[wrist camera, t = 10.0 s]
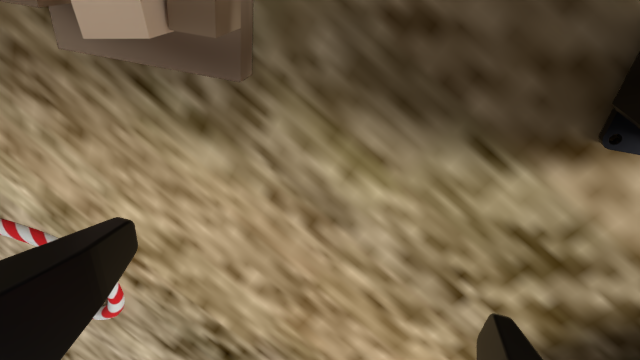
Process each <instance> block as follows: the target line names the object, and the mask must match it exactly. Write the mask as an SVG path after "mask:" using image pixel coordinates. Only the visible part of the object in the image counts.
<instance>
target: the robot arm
mask: <svg viewBox="0 0 640 360" xmlns="http://www.w3.org/2000/svg"><path fill="white" fill-rule="evenodd" d="M613 106H614V109H613V110H612V112H611V114H610V116H609V118H608V119H607V121H606V123H605V125H604V127H603V129H602V130H601V132H600V134H599V142H600V143H601V144H602V145H603V146H604V147H605V148H607V149H610V150H615V151H621V152H626V153H632V154H637V155H640V53H639V54H638V56H637V58H636V60H635V62H634V64H633V65H632V67H631V69H630V71H629V73H628V75H627V77H626V78H625V80H624V82H623V84H622V86H621V88H620V90H619V91H618V93H617V95H616V97H615V99H614V101H613ZM614 134H618V137H617V138H616V139H615V140H613V141H609V138H610V137H611V136H612V135H614ZM137 248H138V242H137V236H136V230H135V225H134V223H133V221H131V220H128V219H124V218H120V217H116V218H113V219H110V220H107V221H104V222H102V223H99V224H96V225H94V226H91V227H88V228H86V229H83V230H80V231H78V232H75V233H72V234H70V235H67V236H64V237H62V238H59V239H56V240H54V241H51V242H48V243H46V244H43V245H40V246H38V247H35V248H32V249H29V250H27V251H24V252H21V253H19V254H16V255H13V256H11V257H8V258H5V259H3V260H0V360H61V358H62V357H63V356H64V355H65V353H66V352H67V351H68V349H69V348H70V347H71V346H72V344H73V343H74V342H75V340H76V339H77V338H78V337H79V335H80V334H81V333H82V331H83V330H84V329H85V327H86V326H87V325H88V324H89V322H90V321H91V320H92V318H93V317H94V316H95V315H96V313H97V312H98V311H99V309H100V308H101V307H102V305H103V304H104V302H105V301H106V300H107V298H108V297H109V295H110V293H111V292H112V290H113V289H114V287H115V285H116V284H117V282H118V281H119V279H120V277H121V276H122V274H123V273H124V271H125V270H126V268H127V266H128V265H129V263H130V262H131V260H132V258H133V257H134V255H135V253H136V251H137ZM477 360H543V359H542V358H541V356H540V355H539V354H538V352H537V351H536V350H535V348H534V347H533V346H532V345H531V343H530V342H529V341H528V339H527V338H526V337H525V335H524V334H523V333H522V331H521V330H520V329H519V328H518V326H517V325H516V324H515V322H514V321H513V320H512V319H511V318H509V317H507V316H503V315H499V314H495V313H493V314H491V315H490V316H489V317H488V319H487V321H486V322H485V324H484V326H483V328H482V330H481V332H480V333H479V335H478V339H477Z"/></svg>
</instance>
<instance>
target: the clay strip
mask: <svg viewBox="0 0 640 360" xmlns="http://www.w3.org/2000/svg"><path fill="white" fill-rule="evenodd" d="M71 3H72V6H73V9H74V12H75V15H76V18H77V21H78V24H79V27H80V30H81V33H82V36H83V39H150V38H153V37H157V36H160V35H163V34H166V33H170V32H173V31H172V30H169V21H168V10H167V0H71Z"/></svg>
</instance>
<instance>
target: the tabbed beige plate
mask: <svg viewBox="0 0 640 360" xmlns="http://www.w3.org/2000/svg"><path fill="white" fill-rule="evenodd" d="M0 1H3V2H9V3H15V4H21V5H26V6H32V7H38V8H39V7H47V6H48V7H49V11H50V15H51V19H52V24H53V28H54V32H55V36H56V40H57V44H58V48H59V49H64V50H69V51H74V52H80V53H85V54H91V55H96V56H101V57H107V58H112V59H117V60H123V61H128V62H134V63H139V64H144V65H150V66H155V67H161V68H166V69H171V70H177V71H182V72H187V73H193V74H198V75H204V76H209V77H214V78H220V79H225V80H230V81H236V82H242V81H243V80H245V79H246V78H247V77H249V76H250V75H252V41H253V0H167V10H168V21H169V30H172V31H173V32H170V33H166V34H163V35H160V36H157V37H153V38H150V39H83V36H82V33H81V30H80V27H79V24H78V21H77V18H76V15H75V12H74V9H73V6H72V3H71V0H0Z"/></svg>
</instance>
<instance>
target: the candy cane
mask: <svg viewBox="0 0 640 360" xmlns="http://www.w3.org/2000/svg"><path fill="white" fill-rule="evenodd" d="M0 235H4V236H7V237H10V238H13V239H17V240H20V241H23V242H26V243H29V244H31V245H34V246H37V247H38V246H40V245H43V244H46V243H48V242H51V241H54V240H56V239H59V238H57V237H55V236H52V235H50V234H47V233H44V232H42V231H39V230H36V229H33V228H30V227H27V226H24V225H21V224H18V223H14V222H11V221H8V220H4V219H1V218H0ZM123 307H124V294H123V291H122V289H121V287H120V285H119V283H118V282H117V284H116V285H115V287H114V289H113V290H112V292H111V293H110V295H109V297H108V305H106V306H102V307H101V308H100V309H99V311H98V312H97V313H96V315H95V316H94V317H93V318H92V319H96V320H105V319H110V318H112V317H115V316H117V315H118V314H119V313H120V312H121V310H122V309H123Z"/></svg>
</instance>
